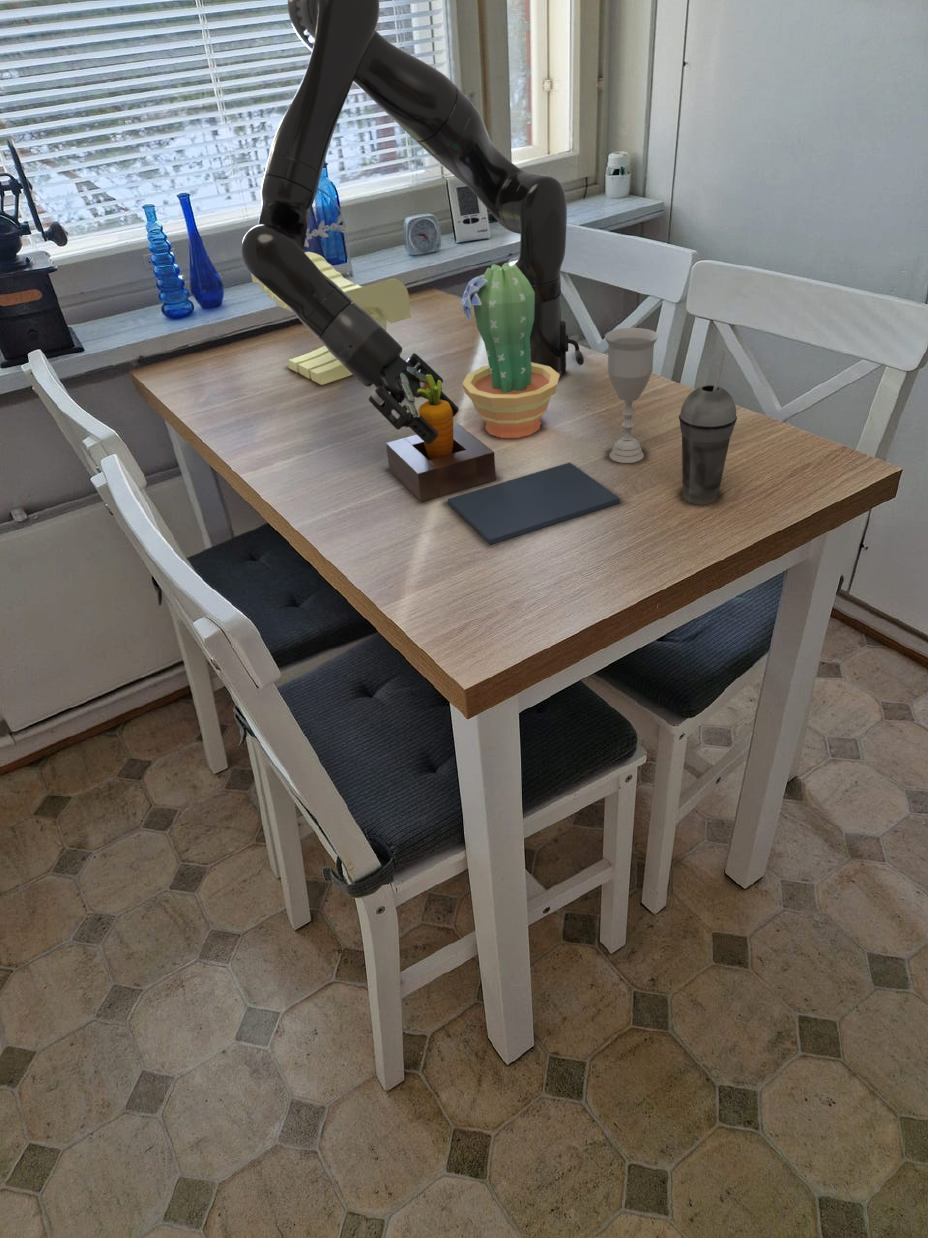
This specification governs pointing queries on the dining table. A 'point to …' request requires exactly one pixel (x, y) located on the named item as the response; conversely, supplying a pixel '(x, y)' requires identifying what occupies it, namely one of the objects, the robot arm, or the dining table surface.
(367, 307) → the slatted curved stool
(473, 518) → the mat
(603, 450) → the dining table surface
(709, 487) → the beverage cup
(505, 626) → the dining table surface
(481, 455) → the stand
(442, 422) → the carrot
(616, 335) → the chalice
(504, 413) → the potted cactus
